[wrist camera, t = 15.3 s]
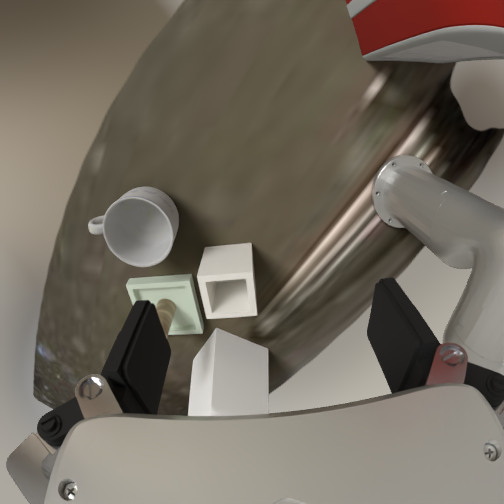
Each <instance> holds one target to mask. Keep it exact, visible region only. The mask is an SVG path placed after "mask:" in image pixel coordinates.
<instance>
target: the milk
mask: <svg viewBox="0 0 504 504" xmlns="http://www.w3.org/2000/svg"><path fill="white" fill-rule="evenodd" d="M256 414H269V382H268V349H267V348H265V347H262V346H260V345H257V344H255V343H252V342H250V341H247V340H245V339H242V338H240V337H237V336H235V335H233V334H230V333H228V332H225V331H223V330H221V329H218V328H216V329H215V330H214V332H213V333H212V335H211V336H210V337H209V339H208V340H207V342H206V343H205V344H204V346H203V347H202V348H201V350H200V351H199V353H198V354H197V355H196V357H195V358H194V360H193V367H192V377H191V388H190V399H189V411H188V416H237V415H256Z"/></svg>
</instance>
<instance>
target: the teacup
mask: <svg viewBox="0 0 504 504" xmlns="http://www.w3.org/2000/svg"><path fill="white" fill-rule="evenodd" d="M88 227H89V231H90V233H92V234H103V233H104V237H105V240H106V242H107V244H108V247H109V248H110V250H111V251H112V252H113V253H114V254H115V255H116V256H117V257H118V258H119V259H121V260H122V261H124V262H126V263H128V264H130V265H133V266H138V267H149V266H153V265H156V264H158V263H160V262H161V261H163V260H164V259H165V258H166V257H167V256H168V254H169V253H170V251H171V249H172V246H173V242H174V239H175V237H176V234H177V231H178V227H179V215H178V211H177V208H176V206H175V204H174V202H173V201H172V200H171V198H170V197H169V196H168V195H167V194H165V193H164V192H162V191H161V190H159V189H156V188H153V187H138V188H135V189H132V190H130V191H129V192H127V193H126V194H124V195H123V196H122V197H121V198H120V199H118V200H117V201H116V202H114V203H113V204H112V205H111V206H110V207H109V208H108V210H107V212H106V213H105V216H100V217H96V218H94V219H92V220H91V221H90V222H89V224H88Z"/></svg>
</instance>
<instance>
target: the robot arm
mask: <svg viewBox="0 0 504 504" xmlns="http://www.w3.org/2000/svg"><path fill="white" fill-rule="evenodd" d="M392 163H393V164H392ZM376 192H377V193H376ZM372 202H373V206H374V209H375V211H376V213H377V214H378V216H379V217H380V218H381V219H382V220H383V221H384V222H385V223H387V224H388V225H390V226H393V227H396V228H406V229H407V230H408V231H410V232H411V233H412V234H413V235H414V236H415V237H416V238H418V239H419V240H420V241H421V242H422V243H423V244H424V245H425V246H426V247H427V248H429V249H430V250H431V251H432V252H433V253H434V254H435V255H436V256H437V257H438V258H439V259H441V260H442V261H443V262H444V263H445V264H447V265H449V266H451V267H454V268H457V269H468V268H472V272H471V274H470V277H469V279H468V282H467V285H466V288H465V289H464V292H463V294H462V296H461V298H460V300H459V302H458V304H457V306H456V308H455V310H454V312H453V314H452V316H451V318H450V320H449V322H448V324H447V326H446V329H445V332H444V335H443V344H440V343H439V341H438V340H437V338H436V337H435V335H434V334H433V332H432V331H431V329H430V328H429V326H428V325H427V323H426V322H425V320H424V319H423V317H422V316H421V315H420V313H419V312H418V310H417V309H416V307H415V306H414V305H413V304H412V302H411V301H410V300H409V298H408V297H407V295H406V294H405V293H404V292H403V290H402V289H401V287H400V286H399V285H398V283H397V282H396V280H395V279H394V278H385V279H380V281H379V283H376V285H375V291H374V297H373V303H372V308H371V314H370V319H369V324H368V329H367V336H368V339H369V341H370V343H371V345H372V348H373V350H374V352H375V354H376V357H377V359H378V361H379V364H380V366H381V368H382V371H383V373H384V375H385V378H386V380H387V383H388V385H389V387H390V390H391V392H392V394H388V395H384V396H379V397H374V398H370V399H365V400H360V401H356V402H350V403H345V404H340V405H334V406H328V407H321V408H314V409H307V410H300V411H291V412H281V413H270V414H256V415H237V416H174V415H157V411H158V407H159V402H160V398H161V393H162V389H163V385H164V381H165V376H166V372H167V368H168V364H169V360H170V356H171V349H170V346H169V343H168V341H167V338H166V335H165V333H164V330H163V327H162V324H161V322H160V319H159V316H158V313H157V310H156V307H155V305H154V303H151V302H150V301H149V300H138V301H136V302H135V303H134V305H133V307H132V309H131V311H130V313H129V315H128V317H127V319H126V322H125V324H124V326H123V328H122V330H121V331H120V333H119V334H118V336H117V339H116V341H115V343H114V345H113V347H112V350H111V352H110V354H109V356H108V359H107V361H106V363H105V365H104V368H103V370H102V372H101V375H97V374H94V375H89V376H86V377H84V378H83V379H82V380H81V381H80V382H79V383H78V384H77V386H76V390H75V394H76V397H75V398H73V399H71V400H70V401H68V402H66V403H64V404H62V405H61V406H59V407H57V408H55V409H54V410H52V411H50V412H48V413H46V414H45V415H44V416H42V418H41V419H40V420H39V422H38V426H37V431H38V432H37V433H36V434H34V433H32V434H31V435H30V436H29V437H28V438H27V439H25V440H24V442H23V443H21V444H20V445H19V446H18V447H17V448H16V449H15V450H14V451H13V452H12V453H11V454H10V456H9V457H8V458H7V462H6V466H7V470H8V472H9V474H10V475H11V477H12V478H13V480H14V482H15V483H16V485H17V486H18V488H19V489H20V491H21V492H22V494H23V495H24V496H25V498H26V499H27V501H28V502H29V503H30V504H504V209H503V208H501V207H499V206H496V205H494V204H492V203H490V202H488V201H486V200H484V199H482V198H480V197H478V196H476V195H475V194H473V193H470V192H469V191H467V190H465V189H463V188H461V187H459V186H457V185H455V184H453V183H450V182H448V181H446V180H444V179H442V178H440V177H438V176H436V175H433V174H432V172H431V170H430V168H429V167H428V165H427V164H426V163H425V162H424V161H422V160H421V159H419V158H417V157H414V156H411V155H399V156H396V157H393V158H391V159H390V160H388V161H387V162H385V164H384V165H383V166H382V167H381V168H380V169H379V171H378V172H377V174H376V176H375V179H374V182H373V186H372Z"/></svg>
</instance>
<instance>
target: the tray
mask: <svg viewBox="0 0 504 504" xmlns="http://www.w3.org/2000/svg"><path fill="white" fill-rule="evenodd" d="M126 287H127V290H128V293H129V295H130V298H131V301H132V303H133V305H134V303H135V302H136V301H138V300H149V301H150V302H151V303H154V305H155V307H156V306H157V303H158V301H159V300H161V299H169V300H171V301H173V302H174V304H175V306H176V310H175V313H174V317H173V320H172V323H171V327H170V330H169V333H168V335H177V334H203V330H204V324H203V320H202V316H201V312H200V308H199V304H198V299H197V295H196V291H195V287H194V282H193V278H192V274H182V275H169V276H156V277H142V278H130V279H129V280H128V282H127V284H126Z"/></svg>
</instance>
